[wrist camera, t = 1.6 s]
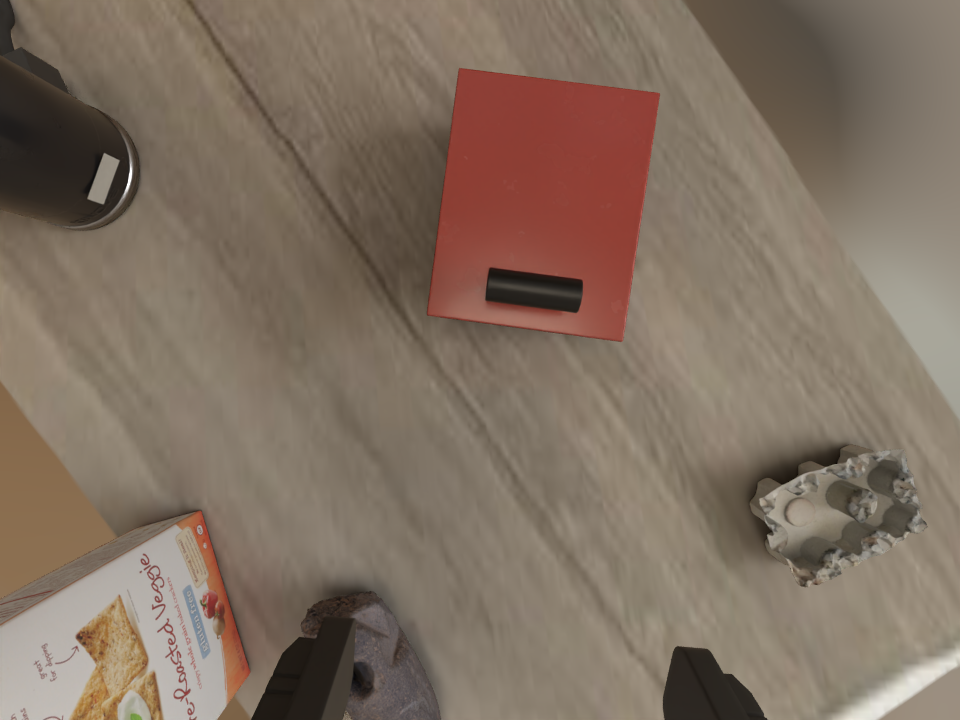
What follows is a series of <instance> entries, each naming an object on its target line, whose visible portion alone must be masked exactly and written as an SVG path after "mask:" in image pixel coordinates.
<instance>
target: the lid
mask: <svg viewBox="0 0 960 720" xmlns="http://www.w3.org/2000/svg"><path fill="white" fill-rule="evenodd" d="M659 97H660V93H655V92H647V91H639V90H631V89H623V88H614V87H606V86H598V85H590V84H582V83H574V82H566V81H558V80H550V79H542V78H534V77H526V76H518V75H510V74H502V73H494V72H486V71H478V70H470V69H462V68H459V71H458V78H457V86H456V94H455V101H454V109H453V117H452V124H451V132H450V140H449V147H448V155H447V163H446V170H445V178H444V185H443V193H442V201H441V208H440V216H439V224H438V231H437V239H436V247H435V254H434V262H433V270H432V277H431V285H430V293H429V300H428V308H427V315H428V316H434V317H441V318H448V319H456V320H463V321H471V322H478V323H485V324H493V325H500V326H507V327H515V328H522V329H529V330H537V331H544V332H552V333H559V334H566V335H574V336H581V337H588V338H596V339H603V340H610V341H618V342H622V341H623V338H624V331H625V325H626V318H627V311H628V305H629V298H630V291H631V285H632V278H633V271H634V264H635V258H636V251H637V244H638V238H639V231H640V224H641V218H642V211H643V204H644V197H645V191H646V184H647V177H648V171H649V164H650V157H651V151H652V144H653V137H654V131H655V124H656V117H657V110H658V104H659Z"/></svg>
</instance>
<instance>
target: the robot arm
mask: <svg viewBox="0 0 960 720" xmlns="http://www.w3.org/2000/svg"><path fill="white" fill-rule="evenodd" d="M14 23H15V20H14V14H13V10H12V7H11V4H10V1H9V0H0V210H3V211H7V212H11V213H15V214H18V215H22V216H26V217H30V218H34V219H38V220H41V221H45V222H47V223H50V224H52V225H56V226H59V227H63V228H67V229H72V230H92V229H96V228H100V227H103V226H105V225H107V224H109V223H111V222H112V221H114V220H115V219H116V218H118V217H119V216H120V215H121V214H122V213H123V212H124V211H125V210H126V208H127V207H128V206H129V204H130V203H131V201H132V199H133V197H134V195H135V192H136V190H137V186H138V181H139V160H138V155H137V152H136V149H135V146H134V144H133V142H132V140H131V138H130V136H129V135H128V133H127V132H126V131H125V129H124V128H123V127H122V126H121V125H120V124H119V123H118V122H117V121H115V120H114V119H113V118H111V117H110V116H108V115H106V114H105V113H103V112H101V111H99V110H97V109H96V108H94V107H91V106H89V105H86V104H84V103H83V102H81V101H79V100H77V99H76V98H74V97H72V96H70V95H69V93H68V91H67V88H66V86H65V84H64V82H63V80H62V77H61V75H60V73H59V71H58V70H57V69H56V68H54V67H52V66H51V65H49V64H47V63H46V62H44V61H43V60H41V59H39V58H38V57H36V56H34V55H33V54H31V53H29V52H28V51H26V50H25V49H23V48H21V47H20V48H18V49H16V50H14V47H13V43H12V39H11V29H12V27H13V26H14ZM355 634H356V618H349V617H338V616H325V617H324V619H323V622H322V624H321V627H320V629H319V632H318V634H317V636H316V638H304V637H299V638H298V639H297V640H296V641H295V642H294V643H293V644H292V645H291V646H290V647H288V648H287V649H286V650H285V651H284V652H283V653H282V655H281V658H280V660H279V662H278V664H277V666H276V668H275V670H274V672H273V676H272V677H271V679H270V681H269V683H268V685H267V687H266V690H265V693H264V694H263V696H262V698H261V700H260V702H259V704H258V706H257V708H256V711H255V713H254V715H253V717H252V719H251V720H343V716H344V713H345V709H346V705H347V702H348V698H349V694H350V689H351V683H352V677H353V667H354V650H355ZM663 712H664V718H665V720H767V718H765V717H764V713H763V711H762V710H761V708H760V707H759V705H758V703H757V702H756V700H755V698H754V697H753V695H752V694H751V692H750V691H749V690H748V689H747V688H746V687H744V686H743V685H742V684H741V683H740V682H739V681H738V680H737V679H736V678H735V677H734V676H733V675H732V674H723V672H722V670H721V668H720V667H719V665H718V663H717V662H716V660H715V658H714V656H713V655H712V653H711V652H710V651H709V650H708V649H703V648H691V647H680V646H678V647H676V648H675V649H674V651H673V655H672V659H671V664H670V668H669V673H668V677H667V682H666V686H665V691H664V696H663Z"/></svg>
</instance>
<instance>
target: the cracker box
mask: <svg viewBox="0 0 960 720" xmlns="http://www.w3.org/2000/svg"><path fill="white" fill-rule="evenodd" d="M249 674H250V670H249V667H248V663H247V661H246V658H245V654H244V651H243V648H242V644H241V641H240V637H239V634H238V631H237V628H236V625H235V621H234V618H233V615H232V611H231V608H230V605H229V601H228V598H227V594H226V592H225V588H224V585H223V581H222V578H221V575H220V572H219V568H218V565H217V561H216V558H215V555H214V551H213V548H212V545H211V542H210V538H209V535H208V531H207V528H206V525H205V521H204V518H203V515H202V512H201V511H196V512H193V513H189V514H185V515H182V516H178V517H175V518H171V519H167V520H164V521H160V522H157V523H153V524H150V525H146V526H142V527H138V528H136V529H133V530H131V531H129V532H127V533H125V534H123V535H121V536H119V537H118V538H116V539H114V540H112V541H110V542H108V543H106V544H104V545H102V546H100V547H98V548H96V549H95V550H92V551H90V552H89V553H87V554H85V555H83V556H81V557H79V558H77V559H75V560H73V561H71V562H69V563H67V564H66V565H64V566H62V567H60V568H58V569H56V570H54V571H52V572H50V573H48V574H46V575H44V576H42V577H41V578H39V579H37V580H35V581H33V582H31V583H29V584H27V585H25V586H24V587H22V588H20V589H18V590H16V591H14V592H12V593H10V594H8V595H7V596H4V597H3V598H1V599H0V720H217V718H218V717H219V715H220V714H221V713H222V711H223V710H224V709H225V707H226V706H227V704H228V703H229V702H230V700H231V699H232V697H233V696H234V695H235V693H236V692H237V691H238V689H239V688H240V686H241V685H242V684H243V682H244V681H245V679H246V678H247V677H248V675H249Z"/></svg>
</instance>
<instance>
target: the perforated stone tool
mask: <svg viewBox="0 0 960 720" xmlns="http://www.w3.org/2000/svg"><path fill="white" fill-rule="evenodd" d="M307 611H308V612H307V614H306V618H305V619H304V620H303V621H302V623H301V630H302V632H303V634H304V637H305V638H316V636H317V634H318V632H319V629H320V627H321V624H322V622H323V619H324V617H325V616H338V617H349V618H356V634H355V650H354V667H353V677H352V683H351V689H350V694H349V698H348V702H347V705H346V711H347V712H348V713H349V715H350V716H351V718H352V719H353V720H441V718H440V712H439V707H438V703H437V700H436V697H435V694H434V691H433V688H432V686H431V684H430V681H429V679H428V677H427V675H426V673H425V671H424V669H423V667H422V665H421V663H420V661H419V659H418V658H417V656H416V654H415V652H414V651H413V649H412V647H411V645H410V643H409V642H408V640H407V638H406V636H405V635H404V633H403V631H402V630H401V629H400V627H399V626H398V624H397V623H396V619H395V617H394V616H393V614H392V613H391V611H390V610H389V608H388V607H387V606H386V604H385V603H384V601H383V600H382V599H381V598H379V597H378V596H377V594H376V593H374V592H372V591H370V592H365V593H363V592H362V593H358V594H351V595H345V596H338V597H335V598H333V599H328V600H322V601H319V602H318V603H316V604H314V605H313V606H312V607H311V608H310V609H308V610H307Z"/></svg>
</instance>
